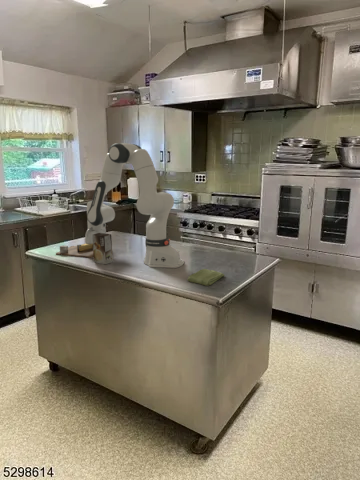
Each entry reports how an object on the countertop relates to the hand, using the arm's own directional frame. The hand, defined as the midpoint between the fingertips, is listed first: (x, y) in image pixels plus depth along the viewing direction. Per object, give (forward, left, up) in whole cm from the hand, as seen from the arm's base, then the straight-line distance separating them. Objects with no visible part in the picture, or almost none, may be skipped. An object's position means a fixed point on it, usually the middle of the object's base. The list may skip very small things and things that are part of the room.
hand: (96, 247), depth 223 cm
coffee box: (-15, +20, -2) cm, 25 cm away
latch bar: (+5, +2, -1) cm, 5 cm away
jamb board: (+7, +6, -2) cm, 9 cm away
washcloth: (-76, +30, -3) cm, 82 cm away
